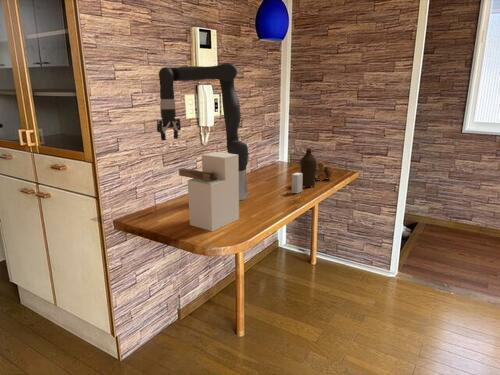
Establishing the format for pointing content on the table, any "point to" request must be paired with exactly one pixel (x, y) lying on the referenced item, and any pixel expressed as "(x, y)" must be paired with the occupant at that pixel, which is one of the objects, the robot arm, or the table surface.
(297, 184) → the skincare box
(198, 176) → the walnut T-handle
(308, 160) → the olive oil
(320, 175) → the stuffed squirrel
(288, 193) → the table surface
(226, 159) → the stepped stand
